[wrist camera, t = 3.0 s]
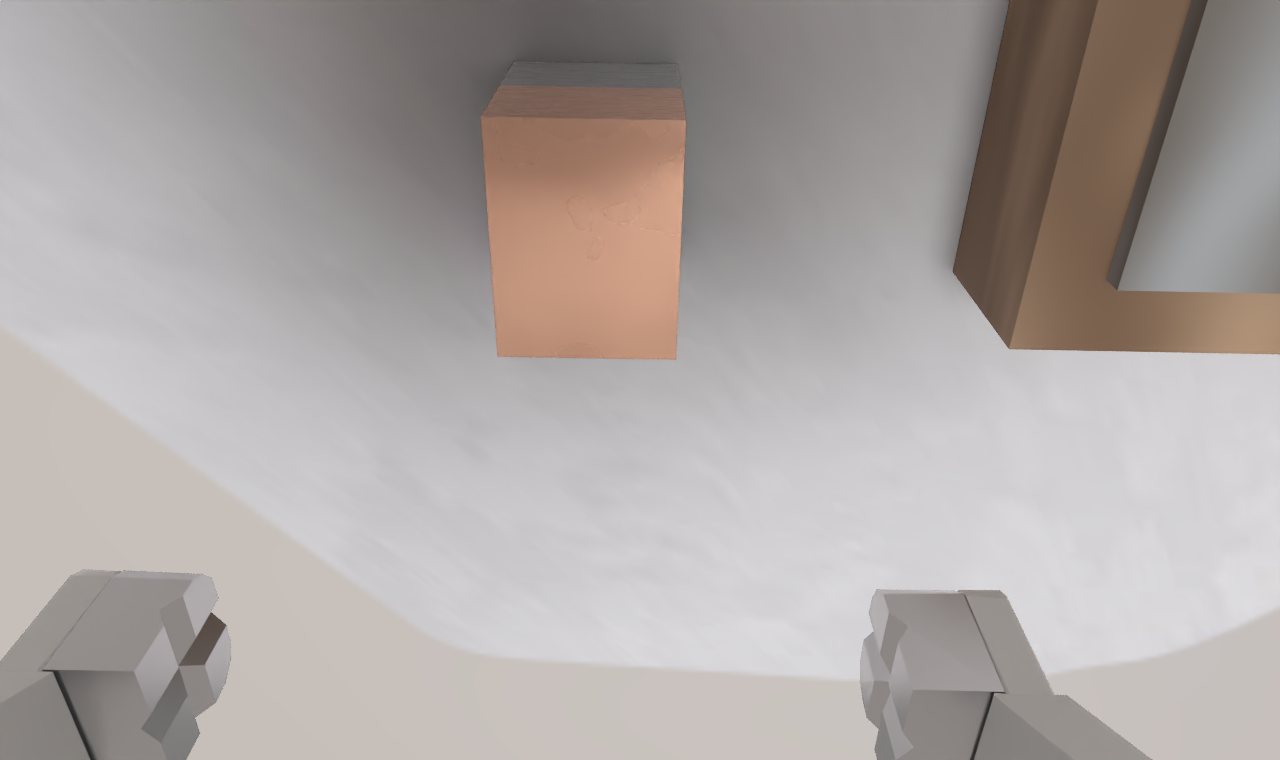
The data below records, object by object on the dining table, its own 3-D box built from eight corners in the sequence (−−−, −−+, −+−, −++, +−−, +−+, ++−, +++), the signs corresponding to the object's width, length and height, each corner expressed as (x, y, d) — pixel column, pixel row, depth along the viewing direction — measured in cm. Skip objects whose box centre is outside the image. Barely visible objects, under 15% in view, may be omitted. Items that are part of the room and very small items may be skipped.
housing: (524, 262, 28) (497, 356, 23) (514, 60, 25) (480, 116, 20) (670, 264, 28) (675, 359, 23) (677, 63, 25) (686, 120, 20)
